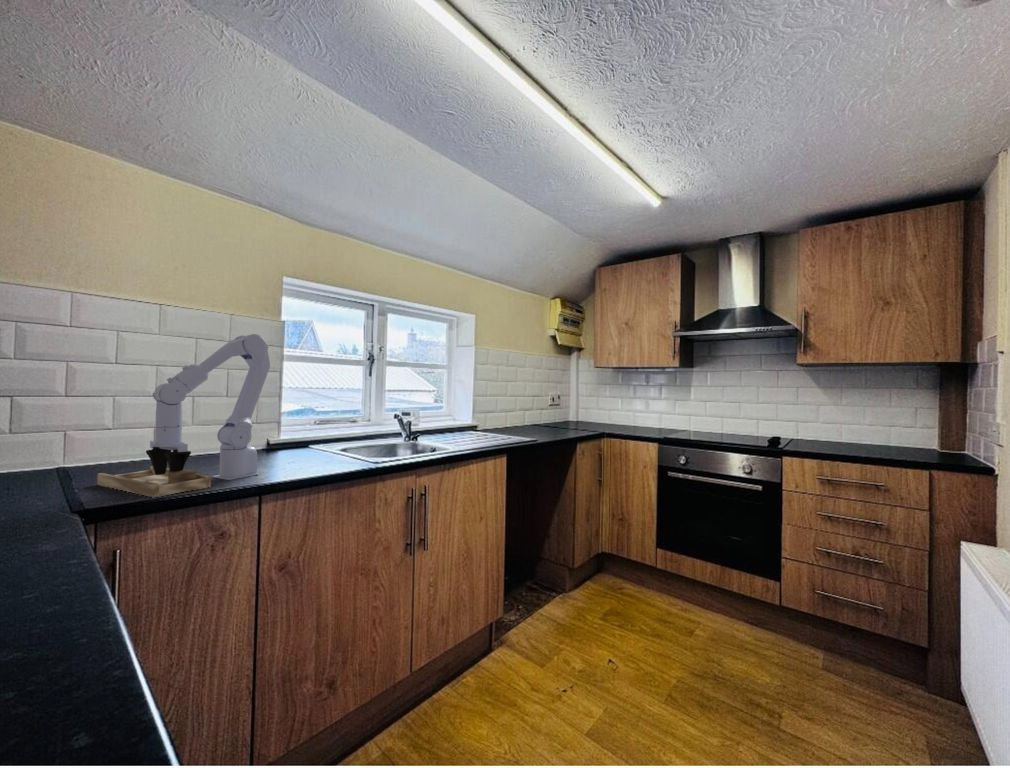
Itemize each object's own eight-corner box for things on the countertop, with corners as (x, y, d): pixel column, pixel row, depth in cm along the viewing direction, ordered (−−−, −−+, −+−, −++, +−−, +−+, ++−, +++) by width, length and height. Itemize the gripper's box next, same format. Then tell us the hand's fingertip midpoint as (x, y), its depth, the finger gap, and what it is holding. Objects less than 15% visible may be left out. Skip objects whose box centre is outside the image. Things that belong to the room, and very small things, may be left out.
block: (186, 480, 118) (187, 469, 118) (196, 482, 116) (196, 471, 116) (168, 483, 113) (168, 472, 113) (177, 485, 112) (177, 474, 112)
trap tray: (154, 475, 129) (154, 465, 129) (210, 487, 117) (211, 475, 117) (97, 484, 117) (97, 473, 117) (153, 498, 105) (153, 485, 105)
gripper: (137, 426, 117) (136, 475, 117) (167, 429, 111) (166, 481, 111) (166, 424, 124) (166, 471, 124) (196, 427, 117) (195, 476, 117)
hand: (167, 475), depth 118 cm, fingers open, 7 cm apart
